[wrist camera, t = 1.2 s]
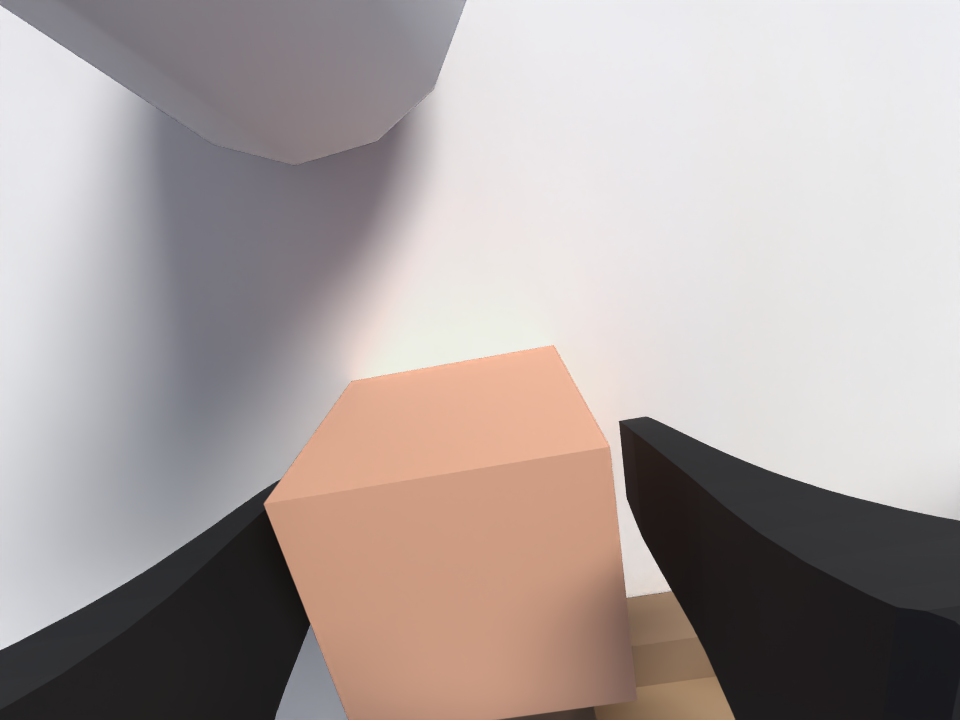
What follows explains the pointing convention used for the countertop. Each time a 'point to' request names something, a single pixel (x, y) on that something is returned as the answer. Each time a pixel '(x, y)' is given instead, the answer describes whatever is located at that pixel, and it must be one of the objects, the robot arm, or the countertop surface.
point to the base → (660, 670)
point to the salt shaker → (263, 63)
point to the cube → (461, 544)
